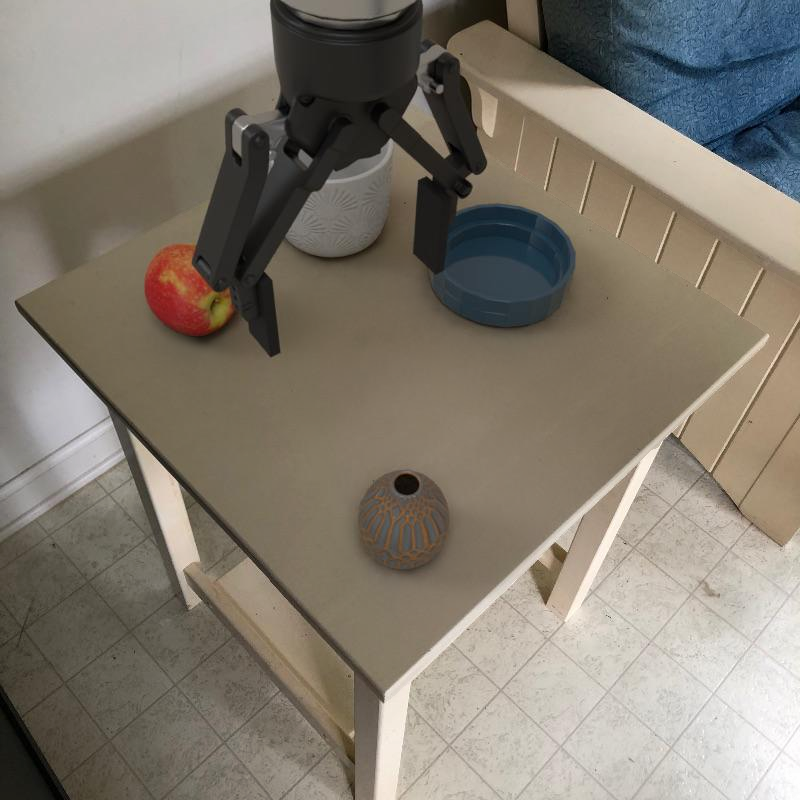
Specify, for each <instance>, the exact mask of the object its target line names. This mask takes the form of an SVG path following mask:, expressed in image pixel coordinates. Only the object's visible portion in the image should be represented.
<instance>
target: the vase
mask: <svg viewBox="0 0 800 800" xmlns="http://www.w3.org/2000/svg"><path fill="white" fill-rule="evenodd" d="M450 521H451V519H450V508H449V504H448V502H447V499H446V497H445V495H444V493H443V491H442V490H441V488H440V486H438V484H437V483H436V482H435V481H434V480H432V478H430V477H429V476H427V475H425V474H423V473H421V472H419V471H414V470H412V469H397V470H393V471H390V472H387V473H385V474H383V475H381V476H380V477H378V478H377V479H376V480H374V481H373V482H372V483H371V484H370V486H369V487H368V488H367V489H366V491H365V493H364V494H363V496H362V499H361V501H360V503H359V506H358V512H357V527H358V534H359V537H360V540H361V542H362V544H363V546H364V548H365V550H367V552H368V553H369V555H370V556H371V557H372V558H373V559H374V560H375V561H377V562H378V563H380V564H382V565H383V566H385V567H388V568H391V569H396V570H411V569H416V568H418V567H421V566H424V565H425V564H427V563H428V562H429V561H432V559H433V558H434V557H436V555H438V553H439V552H440V551H441V549H442V547H443V546H444V544H445V543H446V542H445V541H446V539H447V537H448V533H449V529H450Z"/></svg>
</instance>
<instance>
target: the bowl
mask: <svg viewBox="0 0 800 800" xmlns="http://www.w3.org/2000/svg"><path fill="white" fill-rule="evenodd" d="M576 255H577V254H576V250H575V248H574V245H573V242H572V241H571V238H570V236H569V235H568V234H567V233H566V232H565V230H563V228H562V227H561V226H560V225H559V224H558V223H557V222H555V221H553V220H552V219H550V218H548V217H547V216H546V215H543V214H542V213H540V212H538V211H535V210H532V209H529V208H526V207H524V206H520V205H515V204H509V203H508V204H507V203H500V202H497V203H495V202H494V203H482V204H481V203H480V204H475V205H472V206H469V207H466V208H462V209H459V210H456V218H455V220H454V222H453V224H451V225H449V230H448V239H447V248H446V257H445V266H444V271H442V272H441V273H439V274H437V275H435V274H434V273H433V272H432V271H431V270H430V269H429V268H428V275H429V276H428V277H429V280H430V284H431V288H432V290H433V291H434V292H435V294H436V295H437V297H438V298H439V299H440V300H441V302H442V303H443V304H444V305H445V306H446V307H448V308H449V309H450V310H452V311H453V312H455V313H456V314H458V315H459V316H461V317H462V318H463V317H464V318H466V319H469V320H471V321H473V322H476V323H479V324H481V325H486V326H487V325H488V326H496V327H502V328H508V327H509V328H510V327H511V328H512V327H520V326H528V325H531V324H534V323H536V322H539V321H541V320H545V319H547V318H548V317H549V316H550V315H552V314H553V313H554V312H556V311H557V310H558V309H559V308H560V307H561V306H562V304H563V302H564V301H565V298H566V297H567V295H568V293H569V290H570V288H571V287H570V286H571V283H572V280H573V276H574V272H575V269H576Z"/></svg>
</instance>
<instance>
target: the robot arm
mask: <svg viewBox="0 0 800 800" xmlns="http://www.w3.org/2000/svg"><path fill="white" fill-rule="evenodd" d="M269 11H270V12H269V13H270V23H271V34H272V46H273V47H272V48H273V58H274V59H273V60H274V64H275V70H276V73H277V78H278V81H279V87H280V88H279V95H278V99H277V102H276V104H275V108H274V109H273V110H270V111H269V110H268V111H265V112H261V113H258V114H254V115H253V114H252V115H249V114H248V113H247V112H246V111H245V110H243V109H242V108H240V107H235V108H232V109H230V110H229V111H228V112H227V113H226V114H225V117H224V144H225V150H224V154H223V157H222V161H221V164H220V168H219V171H218V174H217V178H216V180H215V183H214V186H213V190H212V192H211V193H212V194H211V197H210V200H209V203H208V206H207V210H206V211H205V212H206V213H205V215H204V219H203V222H202V226H201V229H200V232H199V236H198V239H197V241H196V244H197V245H196V248H195V251H194V255H193V258H192V265H193V267H194V268H195V269H196V270H197V271H198V273H199V274H200V275H201V276H202V277H203V279H204V280H205V281H206V282H207V283H208V285H209V286H210V287H211V288H212V289H213V291H215V292H223V291H225V290H226V289H227V288H228V287H229V290H230V296H231V301H232V305H233V306H234V307H235V311H237V312H238V314H239V315H240V316H241V317H242V319H244V320H245V322H246V323H247V324H248V331H249V334H250V335H251V336H252V337H253V338H254V339H255V341H256V342H257V343H258V345H260V347H261V348H262V349H263V351H264V352H265V353H266V355H268V356H269V358H273V357H275V356H277V355H280V354H281V343H280V334H279V325H278V318H277V317H278V315H277V309H276V308H277V307H276V298H275V290H274V281H273V279H272V278H271V277H270V276H269V274H267V273H266V272H265V271H266V269H267V267H268V265H269V264H270V263H271V260H272V259H273V257H274V255H275V254H276V252H277V251H278V249H279V247H280V246H281V244H282V242H283V241H284V239H285V238H286V237H285V236H286V234H287V232H288V231H289V229H290V227H291V226H292V224H293V222H294V221H295V219H296V217H297V216H298V214H299V212H300V211H301V209H302V208H303V206H304V204H305V203H306V201H307V199H308V198H309V196H310V194H311V193H312V192H318V191H319V190H321V189H322V187H323V186H324V184H325V182H326V181H327V179H328V177H329V176H330V174H331V173H332V171H333V170H335V171H336V172H337V171H339V170H342V169H344V168H347V167H348V166H350V165H351V164H353V163H354V162H356V161H357V160H359V159H365V158H371V157H373V156H376V155H378V154H380V153H381V148H382V147H383V146H385V145H386V143H387V142H388V141H389V139H390V138H391V139H392V140H393V141H394V144H396V145H397V146H398V147H399V148H400V149H402V150H403V151H404V152H405V153H406V154H407V155H408V156H410V157H411V158H412V159H413V160H414V161H415V162H417V164H418V165H420V166H421V168H423V169H424V170H425V171H426V172H427V173H429V174H430V176H431V177H432V178H430V177H429V176H427V175H426V176H424V177H422V178H419V179H417V187H416V200H415V201H416V202H415V203H416V204H415V215H414V216H415V217H414V229H413V230H414V232H413V244H412V245H413V247H412V254H413V256H415V257H416V258H417V259H418V261H420V262H421V263H422V264H423V265H424V266H425V267H427V268H428V270H429V269H430V270H431V271H432V272H433V273H434V274H435V275H437V274H439V273H441V272H442V271H444V266H445V257H446V248H447V239H448V230H449V225H451V224H453V222H454V220H455V218H456V212H457V211H458V210H457V209H458V201H459V199H460V200H464V199H466V198H468V197H469V196H470V194H471V193H472V191H473V188H474V187H473V186H474V185H473V184H472V182H470V181H469V180H468V179H466V178H468V177H469V176H470V175H471V174H472V175H474V176H479V175H481V174H483V172H484V171H485V170H486V168H487V167H488V159H487V157H486V155H485V152H484V148H483V146H482V143H481V142H480V138H479V136H478V134H477V133H478V132H477V130H476V128H475V126H474V123H473V120H472V118H471V115H470V112H469V110H468V107H467V106H466V105H467V104H466V102H465V100H464V97H463V94H462V92H461V62H460V60H459V58H458V57H456V56H455V55H454V54H452V53H451V52H449V51H448V50H446V49H445V48H444V47H442V46H441V45H439V44H438V43H437V42H436V41H434V40H433V39H431V38H426V39H424V40H422V36H423V35H422V33H423V19H424V18H423V17H424V16H423V15H424V2H423V0H270V1H269ZM418 87H419V89H421V91H422V95H423V96H424V98H425V101H426V102H427V105H428V107H429V109H430V111H431V114H432V116H433V119H434V120H435V123H436V125H437V127H438V129H439V132H440V134H441V136H442V139H443V141H444V143H445V145H446V147H447V150H448V152H449V154H448V155H447V156H445V157H443V156H442V155H441V154H440V152H438V151H437V150H436V149H435V148H434V147H433V146H432V145H431V144H430V143H429V142H428V141H426V140H425V138H423V136H422V135H421V134H420V133H419V132H418V131H417V130H416V129H415V128H414V127H413V126H412V125H411V124H409V122H408V121H406V120H405V118H404V117H403V116H404V114H405V113H406V111H407V110H408V108H409V106H410V104H411V102H412V100H413V99H414V97H415V95H416V93H417V91H418ZM281 137H282V138H281ZM280 138H281V139H280ZM279 139H280V141H279V143H278V145H277V146H276V143H277V141H278V140H279ZM275 146H276V148H275ZM274 149H275V150H274ZM301 149H302V150H303V151H304V152H305V153H306V154H307V155H308V156H309V157H311V158H312V159H313V160H312V162H311V164H310V166H309V167H307V166H306V165H305V164H304V163H303V162H302V161H301V160H300V159H299V157H298V154H299V151H300V150H301ZM272 160H274V164H273V166H272V168H271V170H270V171H269V173H268V169H269V161H272Z"/></svg>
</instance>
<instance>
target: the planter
mask: <svg viewBox="0 0 800 800" xmlns="http://www.w3.org/2000/svg"><path fill="white" fill-rule="evenodd" d="M281 138H282V137H281ZM281 138H280V139H281ZM280 139H279V140H278V141H277V143H276V146H277V145H278V143H279V141H280ZM276 146H275V148H276ZM274 150H275V149H274ZM394 150H395V142H394V141H393V140H392V139H391V138H390V139H389V141H388V142H387V143H386V145H385V146H383V147H382V148H381V153H380V154H378V155H376V156H373V157H371V158H365V159H359V160H357V161H356V162H354V163H353V164H351V165H350V166H348V167H347V168H344V169H342V170H339V171H337V172H336V171H335V170H333V171H332V173H331V174H330V176H329V177H328V179H327V181H326V182H325V184H324V186H323V187H322V189H321V190H319V191H318V192H312V193H311V194H310V196H309V198H308V199H307V201H306V203H305V204H304V206H303V208H302V209H301V211H300V212H299V214H298V216H297V217H296V219H295V221H294V222H293V224H292V226H291V227H290V229H289V231H288V232H287V234H286V236H285V237H284V238H285V239H286V240H287V242H289V243H290V244H291V245H293V247H295V248H297V249H298V250H300V251H302V252H304V253H305V254H310V255H312V256H316V257H323V258H340V257H346V256H350V255H354V254H357V253H359V252H361V251H364V249H366V248H368V247H369V246H371V245H372V244H373V243H374V242H375V241H376V240H377V239H378V237H379V236H380V234H381V233H382V231H383V229H384V226H385V224H386V220H387V217H388V211H389V206H390V197H391V189H392V177H393V164H394ZM298 157H299V159H300V160H301V161H302V162H303V163H304V164H305V165H306V166H307V167H309V166H310V164H311V162H312V160H313V159H312V158H311V157H309V156H308V155H307V154H306V153H305V152H304V151H303V150H302V149H301V150H300V151H299V154H298ZM273 164H274V160H272V161H269V169H268V173H269V171H270V170H271V168H272V166H273Z"/></svg>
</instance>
